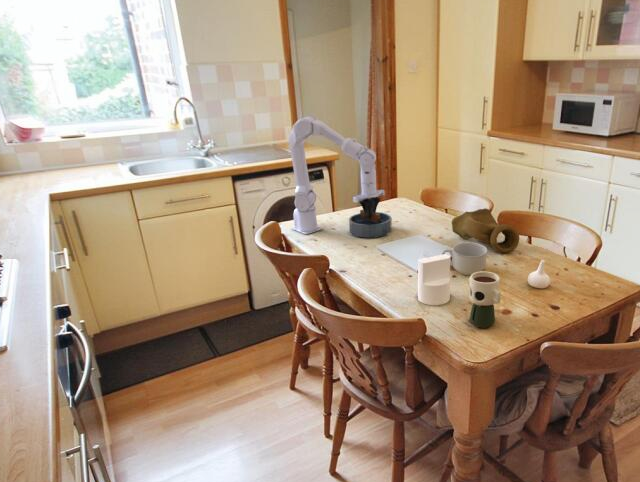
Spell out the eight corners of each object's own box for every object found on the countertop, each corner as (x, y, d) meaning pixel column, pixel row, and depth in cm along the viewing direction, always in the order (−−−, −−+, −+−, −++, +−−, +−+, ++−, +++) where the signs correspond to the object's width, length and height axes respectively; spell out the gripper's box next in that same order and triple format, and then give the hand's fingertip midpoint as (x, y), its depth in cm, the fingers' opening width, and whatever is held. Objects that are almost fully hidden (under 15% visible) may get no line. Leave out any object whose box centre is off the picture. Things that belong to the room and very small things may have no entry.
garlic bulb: (524, 280, 140) (527, 256, 137) (545, 280, 139) (548, 255, 136) (530, 290, 134) (532, 264, 131) (552, 290, 134) (555, 264, 130)
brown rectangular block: (360, 217, 185) (360, 210, 184) (363, 216, 186) (363, 209, 185) (377, 223, 178) (377, 215, 177) (380, 222, 179) (380, 214, 178)
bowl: (341, 232, 185) (340, 218, 183) (372, 222, 195) (371, 209, 193) (368, 242, 173) (368, 228, 171) (400, 231, 184) (400, 217, 182)
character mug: (457, 317, 121) (459, 272, 116) (478, 310, 124) (481, 266, 119) (485, 337, 112) (489, 289, 107) (507, 328, 115) (511, 281, 110)
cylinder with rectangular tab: (427, 308, 126) (427, 267, 121) (412, 294, 134) (412, 255, 129) (455, 300, 129) (457, 261, 125) (439, 288, 137) (440, 250, 132)
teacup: (488, 266, 150) (489, 243, 147) (483, 280, 140) (484, 256, 137) (445, 262, 154) (446, 239, 151) (438, 275, 145) (438, 252, 142)
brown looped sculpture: (502, 212, 178) (527, 220, 157) (492, 244, 180) (515, 257, 159) (457, 200, 174) (477, 207, 153) (447, 233, 177) (466, 244, 156)
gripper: (361, 187, 169) (362, 223, 175) (389, 180, 178) (390, 214, 184) (348, 184, 174) (350, 219, 179) (377, 177, 183) (378, 210, 188)
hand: (370, 216), depth 182 cm, fingers closed on brown rectangular block, 2 cm apart
